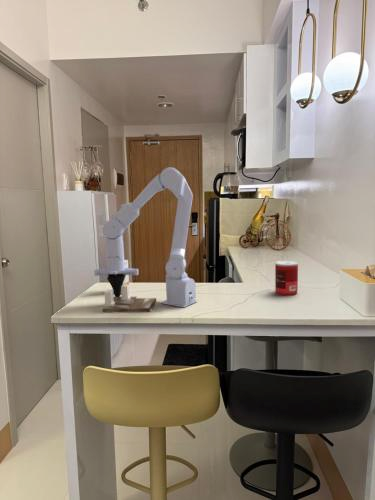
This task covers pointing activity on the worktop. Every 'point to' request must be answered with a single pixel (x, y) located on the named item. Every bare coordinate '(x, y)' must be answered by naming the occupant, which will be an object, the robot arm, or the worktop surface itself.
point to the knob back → (125, 292)
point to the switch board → (131, 305)
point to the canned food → (286, 277)
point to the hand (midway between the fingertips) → (117, 296)
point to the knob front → (109, 298)
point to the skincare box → (126, 280)
